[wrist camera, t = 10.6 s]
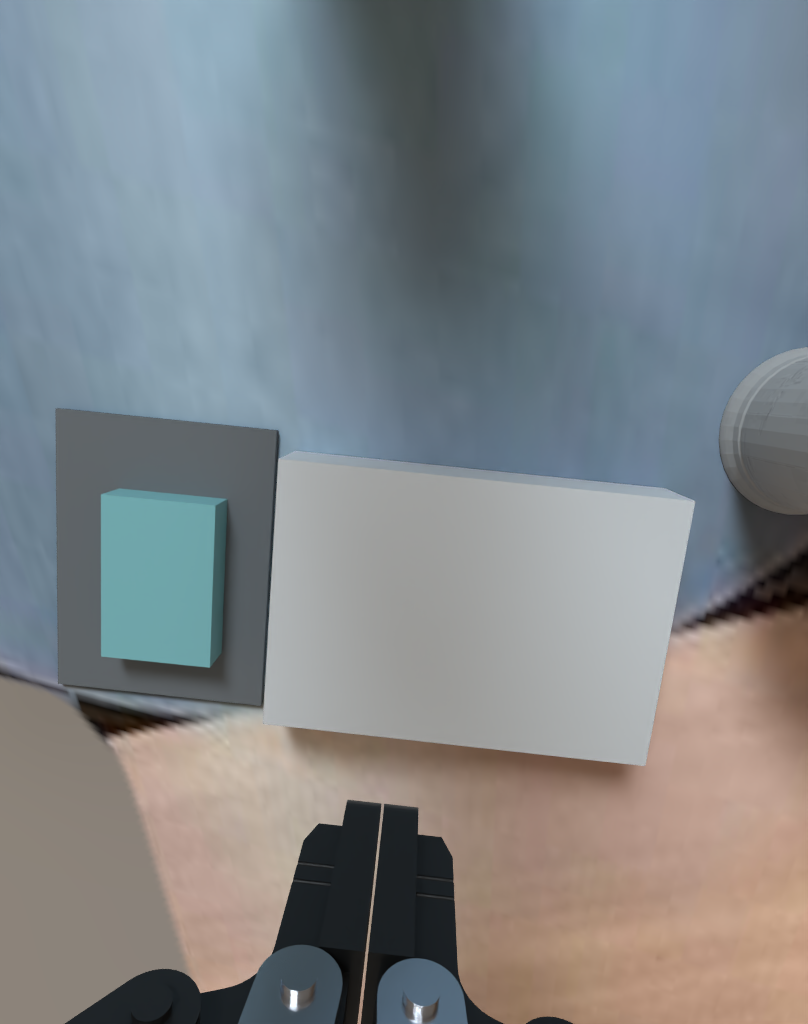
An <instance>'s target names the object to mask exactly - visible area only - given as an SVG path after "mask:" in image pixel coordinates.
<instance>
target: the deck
mask: <svg viewBox="0 0 808 1024" xmlns="http://www.w3.org/2000/svg"><path fill="white" fill-rule="evenodd" d="M694 506H695V501H694V500H691V499H689V498H687V497H684V496H682V495H680V494H677V493H675V492H673V491H670V490H668V489H666V488H658V487H648V486H638V485H628V484H618V483H609V482H599V481H589V480H579V479H569V478H559V477H549V476H540V475H530V474H520V473H510V472H500V471H490V470H480V469H471V468H461V467H451V466H441V465H431V464H421V463H411V462H402V461H392V460H382V459H372V458H362V457H352V456H342V455H333V454H323V453H313V452H303V451H294V452H292V453H290V454H288V455H285V456H283V457H281V458H279V459H278V474H277V491H276V508H275V525H274V542H273V559H272V576H271V593H270V610H269V627H268V644H267V661H266V678H265V695H264V711H263V724H268V725H277V726H286V727H295V728H304V729H313V730H322V731H331V732H340V733H350V734H359V735H368V736H377V737H386V738H395V739H404V740H413V741H422V742H431V743H440V744H449V745H458V746H467V747H476V748H486V749H495V750H504V751H513V752H522V753H531V754H540V755H549V756H558V757H567V758H576V759H585V760H594V761H603V762H612V763H622V764H631V765H640V766H645V765H646V760H647V754H648V749H649V744H650V738H651V733H652V728H653V723H654V717H655V712H656V707H657V701H658V696H659V691H660V686H661V680H662V675H663V670H664V664H665V659H666V654H667V648H668V643H669V638H670V633H671V627H672V622H673V617H674V611H675V606H676V601H677V596H678V590H679V585H680V580H681V574H682V569H683V564H684V559H685V553H686V548H687V543H688V537H689V532H690V527H691V521H692V516H693V511H694Z"/></svg>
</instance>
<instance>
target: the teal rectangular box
mask: <svg viewBox="0 0 808 1024" xmlns="http://www.w3.org/2000/svg"><path fill="white" fill-rule="evenodd" d="M226 524H227V499H222V498H212V497H202V496H192V495H181V494H171V493H161V492H151V491H140V490H130V489H120V488H119V489H116V490H113V491H110V492H107V493H104V494H101V657H111V658H121V659H130V660H140V661H150V662H159V663H169V664H179V665H188V666H198V667H208V668H210V667H211V666H212V664H213V663H214V662H215V661H216V659H217V658H218V657H219V655H220V654H221V653H222V629H223V603H224V577H225V551H226Z"/></svg>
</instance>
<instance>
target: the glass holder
mask: <svg viewBox="0 0 808 1024" xmlns="http://www.w3.org/2000/svg"><path fill="white" fill-rule="evenodd" d="M719 448H720V456H721V459H722V463H723V467H724V469H725V471H726V473H727V475H728V477H729V479H730V481H731V482H732V483H733V485H734V486H735V487H736V489H737V490H738V491H739V492H740V493H741V494H742V495H743V496H744V497H746V498H747V499H748V500H749V501H751V502H753V503H754V504H756V505H758V506H759V507H761V508H764V509H767V510H769V511H772V512H777V513H782V514H788V515H805V514H808V347H805V348H799V349H793V350H790V351H787V352H784V353H781V354H778V355H776V356H774V357H772V358H770V359H769V360H767V361H765V362H763V363H762V364H760V365H759V366H758V367H757V368H755V369H754V370H753V371H751V372H750V373H749V374H748V375H747V376H746V377H745V378H744V380H743V381H742V382H741V383H740V384H739V385H738V387H737V388H736V390H735V391H734V393H733V394H732V396H731V397H730V399H729V401H728V404H727V406H726V408H725V410H724V413H723V417H722V421H721V424H720V433H719Z"/></svg>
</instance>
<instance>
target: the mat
mask: <svg viewBox="0 0 808 1024" xmlns="http://www.w3.org/2000/svg"><path fill="white" fill-rule="evenodd" d="M277 445H278V430H269V429H259V428H249V427H239V426H229V425H219V424H209V423H199V422H190V421H180V420H170V419H160V418H150V417H140V416H130V415H120V414H110V413H100V412H90V411H80V410H71V409H61V408H58V409H56V506H57V617H58V684H66V685H76V686H85V687H94V688H103V689H112V690H121V691H130V692H139V693H148V694H158V695H167V696H176V697H185V698H194V699H203V700H212V701H221V702H231V703H240V704H249V705H258V706H261V704H262V702H263V685H264V668H265V650H266V633H267V616H268V599H269V582H270V565H271V548H272V531H273V514H274V497H275V479H276V462H277ZM119 488H120V489H130V490H140V491H151V492H161V493H171V494H181V495H192V496H202V497H212V498H222V499H227V524H226V551H225V577H224V603H223V629H222V653H221V654H220V655H219V657H218V658H217V659H216V661H215V662H214V663H213V664H212V666H211V667H210V668H208V667H198V666H188V665H179V664H169V663H159V662H150V661H140V660H130V659H121V658H111V657H101V494H104V493H107V492H110V491H113V490H116V489H119Z"/></svg>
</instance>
